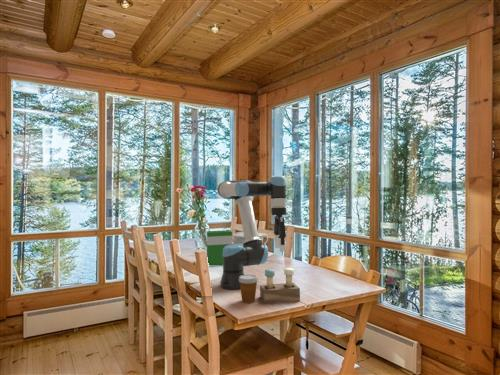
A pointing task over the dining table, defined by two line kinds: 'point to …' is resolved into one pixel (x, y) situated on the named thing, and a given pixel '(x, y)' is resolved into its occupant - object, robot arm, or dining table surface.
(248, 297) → the disposable coffee cup
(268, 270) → the knob
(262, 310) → the dining table surface
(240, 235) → the chamber pot
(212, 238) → the hardback book
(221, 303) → the dining table surface
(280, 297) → the mount
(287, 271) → the knob
